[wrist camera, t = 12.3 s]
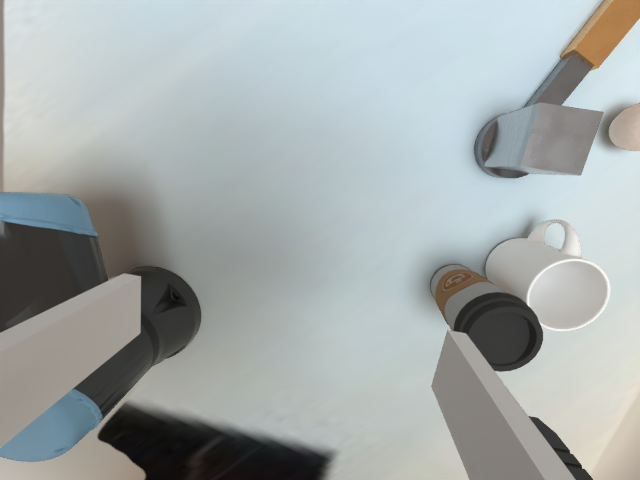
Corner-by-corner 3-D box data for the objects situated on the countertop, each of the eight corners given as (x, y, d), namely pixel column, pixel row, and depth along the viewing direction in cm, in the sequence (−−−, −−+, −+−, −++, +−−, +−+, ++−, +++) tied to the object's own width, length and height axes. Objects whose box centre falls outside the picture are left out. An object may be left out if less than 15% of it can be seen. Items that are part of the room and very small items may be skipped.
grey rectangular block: (484, 166, 38) (520, 166, 30) (498, 116, 37) (540, 102, 29) (531, 173, 38) (580, 175, 30) (547, 123, 36) (603, 112, 29)
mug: (564, 220, 41) (639, 237, 31) (532, 298, 44) (590, 339, 34) (503, 207, 41) (557, 220, 31) (474, 286, 44) (515, 322, 34)
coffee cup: (465, 246, 43) (528, 286, 29) (490, 293, 44) (562, 354, 30) (412, 274, 45) (447, 325, 30) (438, 318, 46) (483, 388, 31)
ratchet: (461, 155, 40) (483, 153, 34) (596, -20, 35) (652, -62, 28) (508, 189, 41) (538, 193, 35) (647, 22, 35) (714, -10, 29)
